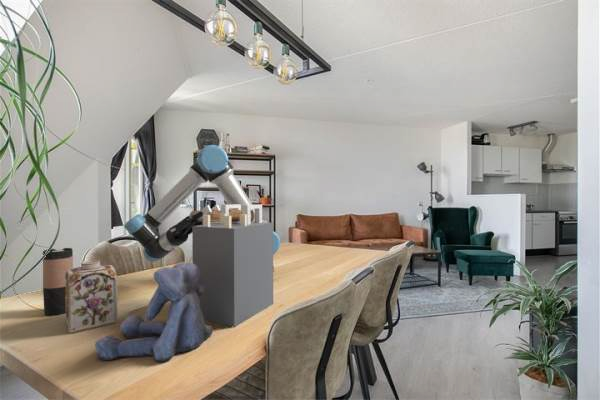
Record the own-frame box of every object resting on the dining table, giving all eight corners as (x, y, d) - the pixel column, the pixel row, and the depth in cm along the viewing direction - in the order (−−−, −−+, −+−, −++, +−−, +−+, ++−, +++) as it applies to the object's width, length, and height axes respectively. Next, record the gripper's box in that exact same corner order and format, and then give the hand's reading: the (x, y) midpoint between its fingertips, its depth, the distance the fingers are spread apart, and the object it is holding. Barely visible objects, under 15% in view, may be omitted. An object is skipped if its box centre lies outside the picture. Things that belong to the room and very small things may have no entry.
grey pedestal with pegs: (236, 297, 113) (235, 204, 112) (273, 303, 106) (273, 204, 105) (192, 317, 94) (192, 205, 94) (234, 327, 87) (234, 206, 87)
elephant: (138, 324, 90) (137, 253, 89) (221, 326, 88) (221, 254, 87) (83, 362, 69) (82, 270, 69) (190, 366, 67) (190, 272, 67)
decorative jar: (68, 335, 82) (67, 268, 82) (64, 321, 91) (64, 261, 91) (119, 322, 90) (118, 261, 90) (111, 311, 99) (110, 256, 99)
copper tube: (190, 223, 113) (188, 212, 112) (198, 219, 117) (196, 209, 116) (248, 223, 102) (246, 211, 101) (255, 219, 105) (253, 208, 104)
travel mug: (56, 317, 94) (56, 252, 94) (36, 315, 96) (36, 251, 95) (79, 308, 102) (78, 248, 101) (60, 306, 103) (59, 247, 103)
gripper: (194, 243, 126) (233, 216, 117) (158, 249, 111) (200, 219, 102) (187, 227, 128) (225, 198, 119) (151, 231, 112) (192, 199, 103)
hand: (214, 208), depth 110 cm, fingers closed on copper tube, 4 cm apart
